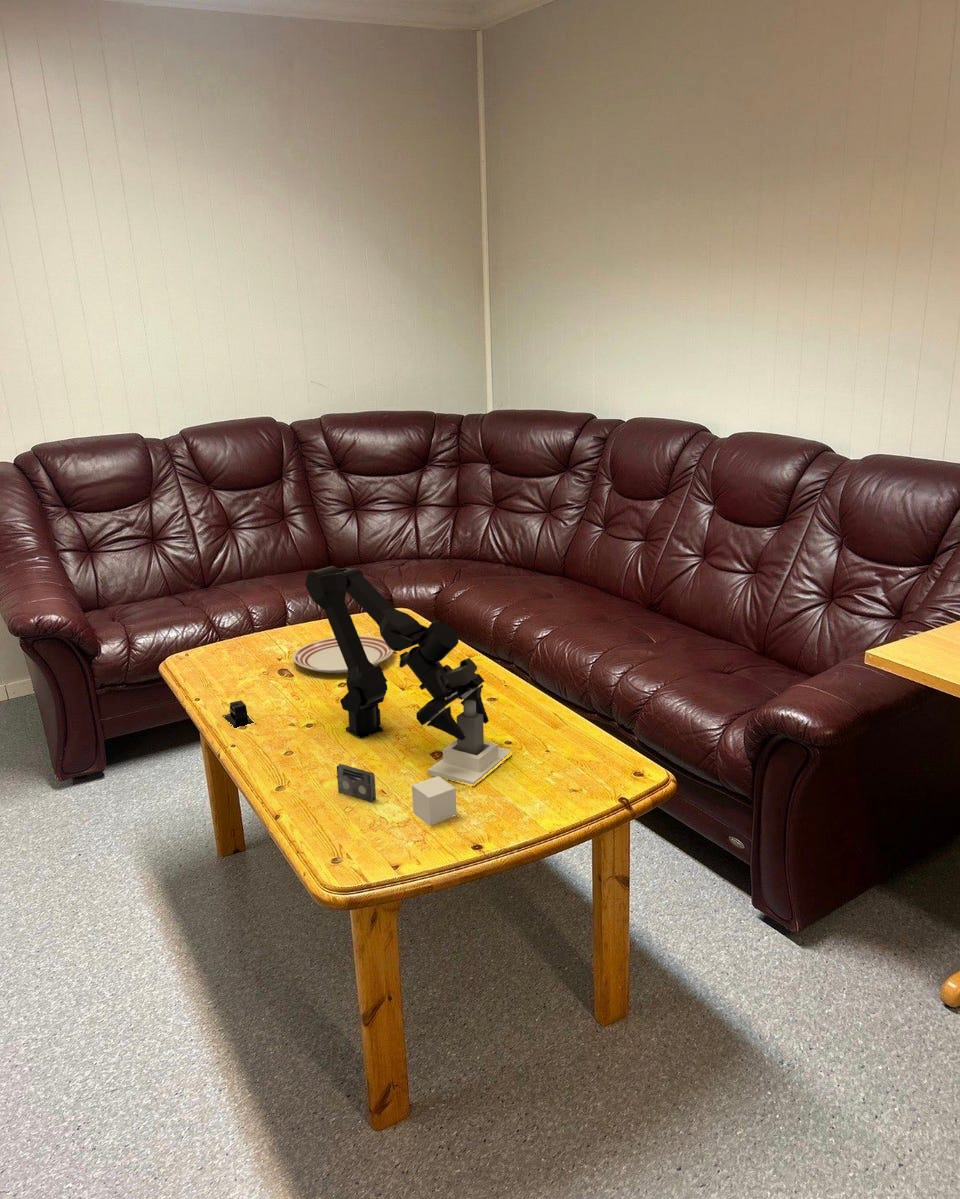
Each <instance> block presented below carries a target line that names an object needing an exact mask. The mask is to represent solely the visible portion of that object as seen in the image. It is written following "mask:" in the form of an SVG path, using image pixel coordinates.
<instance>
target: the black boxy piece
mask: <svg viewBox="0 0 960 1199" xmlns="http://www.w3.org/2000/svg"><path fill="white" fill-rule="evenodd" d="M247 713H248V709H247V705H246V704H245V703H244V701H243V700H237V701H233V702H229V713H227V715H226V714H223V715H221V716H222V717H223V719H224V720H225V721H226V720H227V721H228V722H230V724H232V725H233V727H234V728H237V727H239V726H245V725H247V724H251V723H254V722H253V721H252V720H251V719H250V718H249V716H248V715H247ZM224 716H225V717H224ZM227 721H226V722H227ZM228 722H227V723H228ZM230 724H229V725H230ZM232 725H230V726H232Z"/></svg>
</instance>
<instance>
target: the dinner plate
mask: <svg viewBox="0 0 960 1199" xmlns="http://www.w3.org/2000/svg"><path fill="white" fill-rule="evenodd" d="M358 636H359V638H360V641H361V643H362V646H363V648H364V651H365V653H366V656H367V658H368V660H369V662H370V663H372V664H373V665H374V666H377V665H378V664H380V663H383V662H384V661H386V660H387V659H388V658H389V657H391V656H392V654H393V653H394V651H393V650H392V649H391V648H390V647H389V646H388V645H387V643H386V642H385V641H384V639H383V638H381V637H376V636H369V635H367V636H366V635H358ZM292 659H293V660H292V661H293V662H294V663H295V664H296V665H298V666H299V667H302V668H305V669H308V670H310V671H315V672H319V673H327V674H347V673H348V668H347V666H346V663H345V661H344V658H343V656H342V653H341V651H340V648H339V646H338V643H337V641H336V638H335V636H334V637H329V638H324V639H320V640H316V641H313V642H311V643H308V644H306V645H304V646H302V647H300V648H299V649H297V650H296V651H295V652H294V654H293V655H292Z"/></svg>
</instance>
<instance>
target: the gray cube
mask: <svg viewBox="0 0 960 1199" xmlns="http://www.w3.org/2000/svg"><path fill="white" fill-rule="evenodd" d="M411 793H412V794H411V795H412V813H413V814H414V815H415V816H417V817H418V818H419V819H420V820H422V821H423V822H424V823H426V824H427V825H429V826H430V827H431V826H434V825H436V824H438V822H439V823H442V822H444V821H446V820H445V819H447V818H449V819H451V818H450V817H452V816H453V815H456V814H457V813H458V812H457V787H455V786H453V785H452V784H450V783H449V782H448V781H447V780H445V779H442V778H440V777H439V776H437V777H434V776H433V777H431V778H429V779H425V780H424V781H423V780H422V781H420V782H417V783H415V784H412V785H411ZM452 818H453V817H452ZM443 820H444V821H443ZM447 820H448V819H447ZM441 821H442V822H441Z"/></svg>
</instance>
